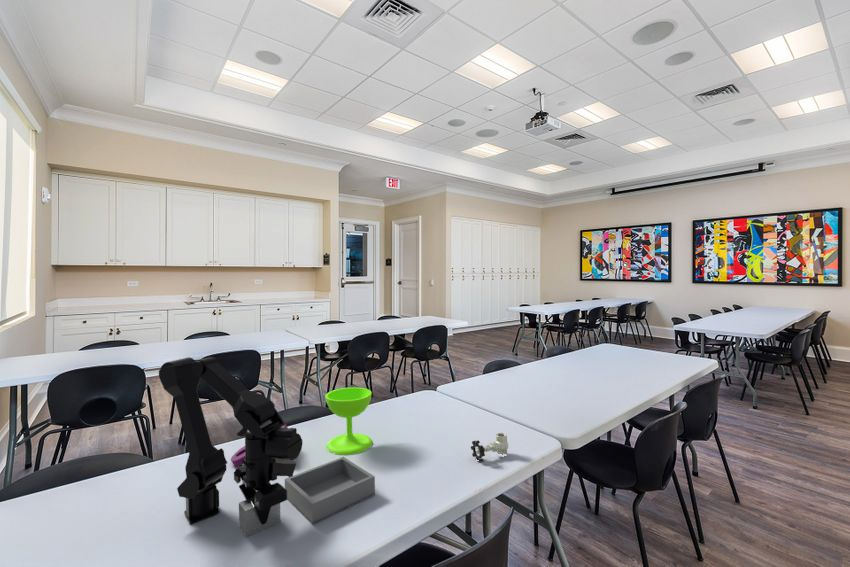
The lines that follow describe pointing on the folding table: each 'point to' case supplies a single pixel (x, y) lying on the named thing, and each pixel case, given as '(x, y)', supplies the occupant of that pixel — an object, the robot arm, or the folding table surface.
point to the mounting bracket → (242, 454)
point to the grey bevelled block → (255, 518)
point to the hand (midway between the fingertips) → (260, 519)
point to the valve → (491, 446)
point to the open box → (329, 489)
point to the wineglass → (348, 419)
